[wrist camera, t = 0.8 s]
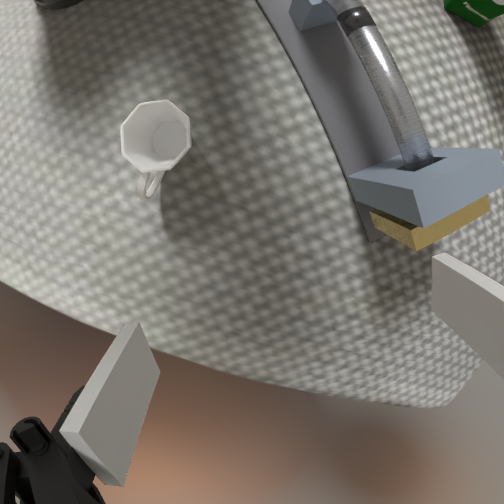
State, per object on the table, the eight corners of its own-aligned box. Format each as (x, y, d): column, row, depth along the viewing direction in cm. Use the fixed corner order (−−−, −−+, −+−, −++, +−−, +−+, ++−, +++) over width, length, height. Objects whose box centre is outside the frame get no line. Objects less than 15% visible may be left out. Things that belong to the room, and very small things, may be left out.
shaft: (315, -5, 22) (322, -20, 19) (342, -11, 22) (351, -24, 19) (419, 233, 29) (435, 241, 26) (442, 221, 29) (458, 228, 26)
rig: (252, -6, 28) (257, -87, 13) (323, -24, 27) (360, -96, 12) (368, 240, 37) (437, 290, 22) (431, 210, 36) (515, 240, 21)
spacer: (369, 211, 33) (410, 230, 24) (435, 180, 32) (486, 190, 23) (374, 227, 33) (416, 251, 24) (439, 196, 32) (490, 210, 23)
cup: (213, 120, 33) (204, 109, 25) (183, 203, 36) (167, 215, 28) (156, 104, 32) (133, 90, 24) (129, 185, 35) (100, 192, 27)
